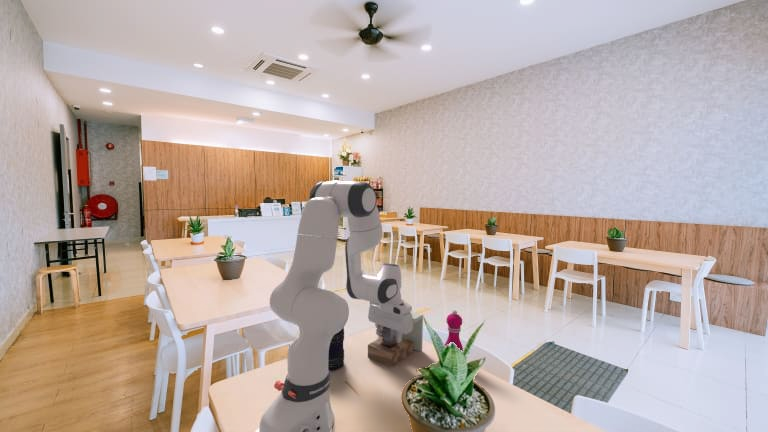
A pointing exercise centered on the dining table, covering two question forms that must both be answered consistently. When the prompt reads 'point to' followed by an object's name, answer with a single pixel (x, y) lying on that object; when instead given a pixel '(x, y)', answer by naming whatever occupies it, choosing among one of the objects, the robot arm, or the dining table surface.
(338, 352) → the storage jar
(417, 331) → the pale green stepped block
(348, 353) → the dining table surface
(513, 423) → the dining table surface
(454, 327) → the pepper mill
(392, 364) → the socket
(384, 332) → the peg
